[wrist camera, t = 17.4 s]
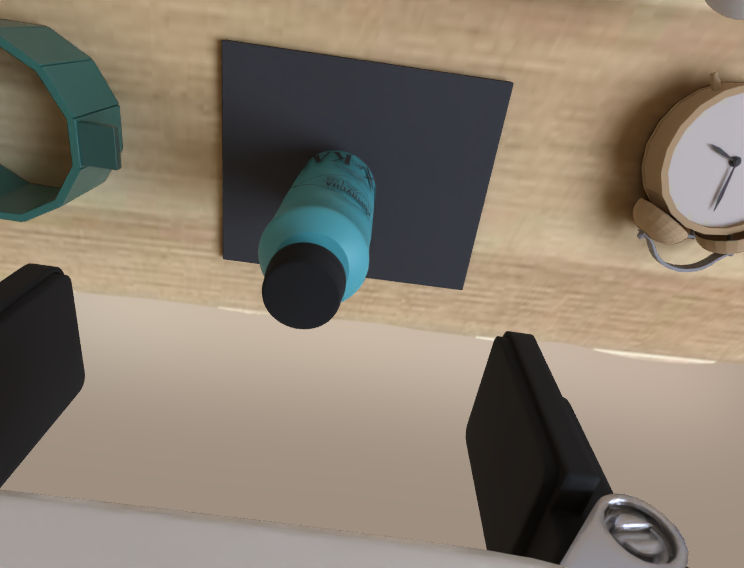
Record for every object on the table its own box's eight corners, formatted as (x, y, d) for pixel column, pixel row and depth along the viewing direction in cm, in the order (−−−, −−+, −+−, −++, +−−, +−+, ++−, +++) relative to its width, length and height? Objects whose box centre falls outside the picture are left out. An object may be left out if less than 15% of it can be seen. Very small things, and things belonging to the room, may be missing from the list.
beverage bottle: (362, 229, 44) (345, 371, 26) (289, 202, 43) (219, 332, 25) (389, 158, 41) (391, 265, 23) (311, 128, 40) (251, 216, 22)
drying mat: (223, 39, 37) (221, 39, 37) (512, 81, 38) (513, 82, 38) (224, 256, 46) (222, 259, 45) (461, 287, 47) (462, 290, 46)
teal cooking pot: (-103, 1, 37) (-193, -3, 31) (148, 42, 38) (105, 46, 32) (-59, 176, 43) (-127, 200, 37) (156, 208, 44) (122, 236, 38)
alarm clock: (851, 94, 36) (763, 292, 40) (794, 98, 40) (721, 274, 45) (701, 63, 35) (629, 268, 39) (661, 70, 39) (601, 252, 44)
